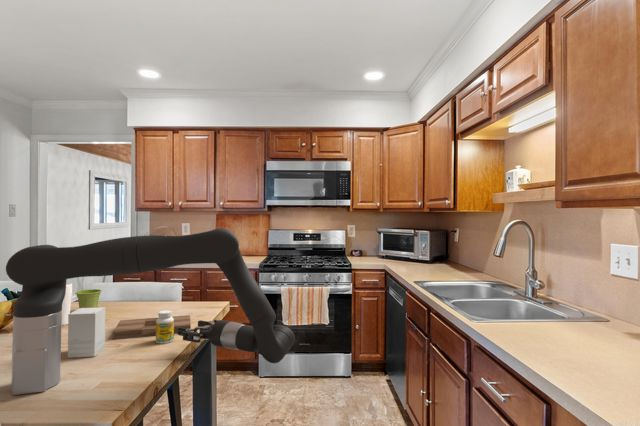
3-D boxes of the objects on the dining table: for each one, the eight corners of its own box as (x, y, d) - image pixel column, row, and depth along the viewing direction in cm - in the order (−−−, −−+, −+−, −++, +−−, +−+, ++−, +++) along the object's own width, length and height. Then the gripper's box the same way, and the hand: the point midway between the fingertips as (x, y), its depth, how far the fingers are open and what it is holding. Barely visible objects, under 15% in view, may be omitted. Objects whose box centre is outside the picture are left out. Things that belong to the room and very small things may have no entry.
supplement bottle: (171, 337, 122) (172, 308, 123) (175, 342, 118) (175, 312, 118) (154, 340, 120) (154, 311, 120) (157, 345, 115) (157, 314, 115)
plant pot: (76, 316, 147) (76, 294, 147) (73, 311, 154) (74, 290, 154) (103, 312, 153) (103, 291, 153) (99, 308, 160) (99, 288, 160)
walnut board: (190, 332, 128) (190, 325, 128) (112, 339, 120) (113, 331, 120) (189, 321, 141) (190, 315, 141) (120, 327, 133) (120, 320, 133)
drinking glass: (45, 328, 131) (46, 286, 131) (54, 322, 137) (55, 282, 138) (67, 326, 133) (68, 285, 133) (74, 321, 139) (75, 282, 139)
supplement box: (105, 348, 112) (106, 306, 112) (94, 357, 105) (95, 313, 105) (79, 349, 111) (80, 307, 111) (66, 358, 104) (67, 313, 104)
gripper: (244, 316, 114) (204, 310, 121) (213, 328, 101) (170, 320, 108) (244, 340, 114) (204, 332, 121) (213, 355, 101) (170, 346, 108)
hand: (188, 327), depth 115 cm, fingers open, 8 cm apart
